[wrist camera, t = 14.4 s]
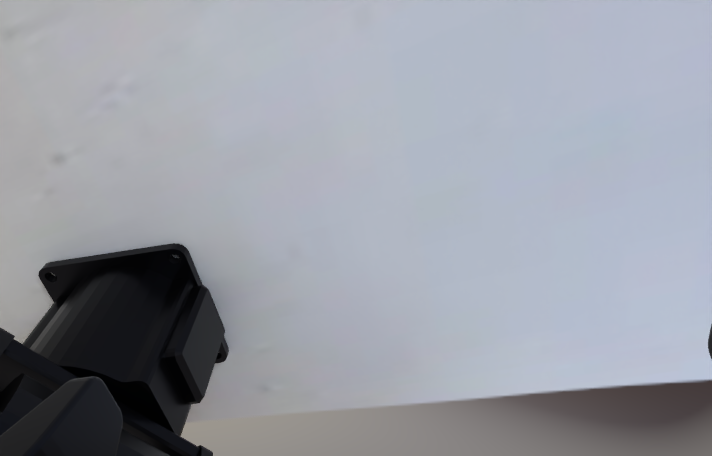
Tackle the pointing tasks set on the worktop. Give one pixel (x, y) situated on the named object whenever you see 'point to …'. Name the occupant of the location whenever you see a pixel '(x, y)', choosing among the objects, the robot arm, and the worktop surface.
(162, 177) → the worktop surface
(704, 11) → the worktop surface
